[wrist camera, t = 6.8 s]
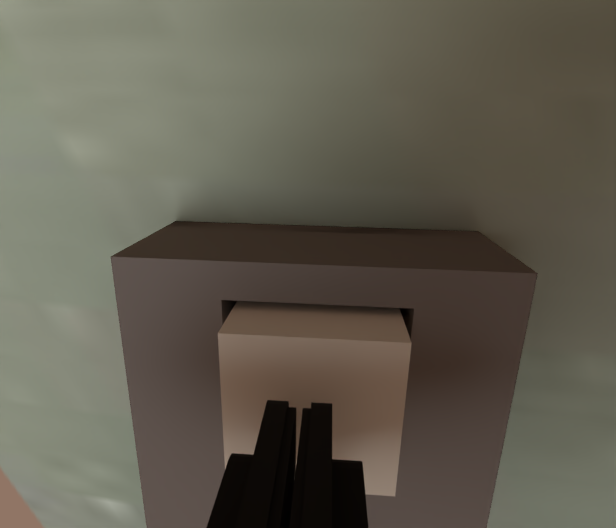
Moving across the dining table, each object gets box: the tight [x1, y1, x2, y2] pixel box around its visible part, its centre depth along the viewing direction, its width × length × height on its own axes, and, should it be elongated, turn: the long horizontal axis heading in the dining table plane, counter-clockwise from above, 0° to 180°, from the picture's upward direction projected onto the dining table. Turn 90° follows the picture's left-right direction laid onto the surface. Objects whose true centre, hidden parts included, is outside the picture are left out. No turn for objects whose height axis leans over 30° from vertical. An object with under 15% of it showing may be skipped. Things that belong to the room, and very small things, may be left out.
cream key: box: [218, 301, 412, 496], centre depth 13 cm, size 5×5×4 cm
